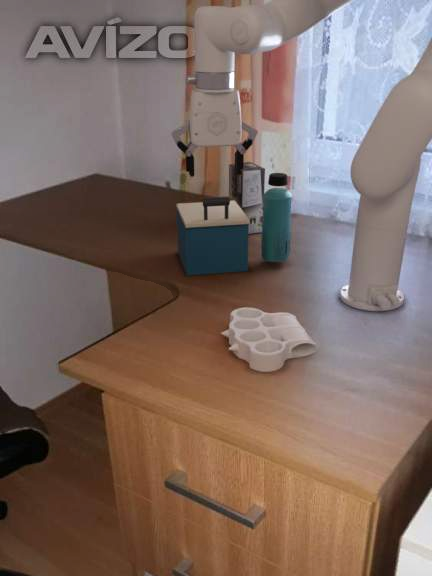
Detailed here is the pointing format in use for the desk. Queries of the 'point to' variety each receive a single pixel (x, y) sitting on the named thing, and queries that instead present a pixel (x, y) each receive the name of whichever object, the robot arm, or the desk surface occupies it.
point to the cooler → (213, 248)
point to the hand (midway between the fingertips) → (214, 174)
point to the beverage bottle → (276, 220)
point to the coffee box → (248, 193)
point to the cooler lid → (212, 213)
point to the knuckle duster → (267, 338)
